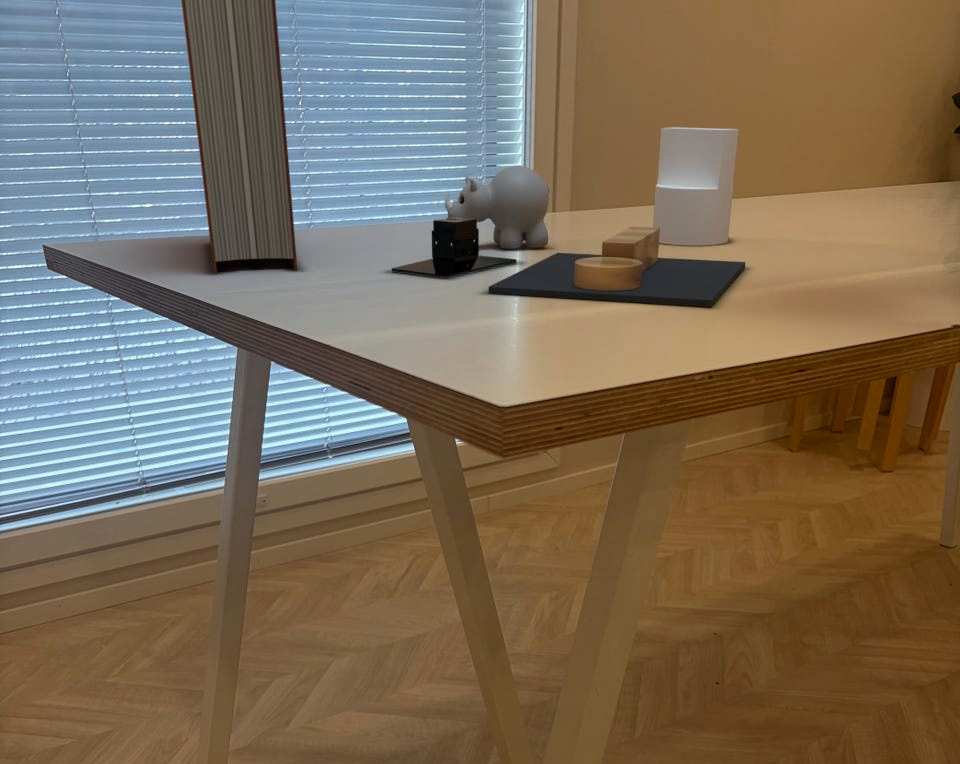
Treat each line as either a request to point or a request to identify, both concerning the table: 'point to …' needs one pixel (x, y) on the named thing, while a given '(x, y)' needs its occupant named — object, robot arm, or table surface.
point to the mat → (658, 286)
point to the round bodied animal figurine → (507, 206)
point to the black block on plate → (454, 251)
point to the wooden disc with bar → (619, 261)
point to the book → (241, 127)
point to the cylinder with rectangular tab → (695, 185)
